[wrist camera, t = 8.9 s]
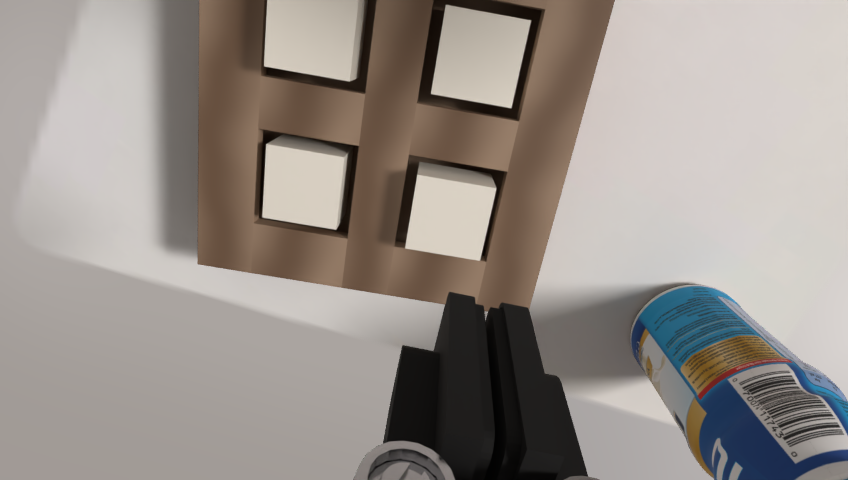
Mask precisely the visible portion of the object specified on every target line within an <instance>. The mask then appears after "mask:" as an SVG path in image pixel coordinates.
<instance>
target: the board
mask: <svg viewBox="0 0 848 480" xmlns="http://www.w3.org/2000/svg"><path fill="white" fill-rule="evenodd" d="M614 1H615V0H368V6H367V15H366V23H365V32H364V40H363V49H362V58H361V66H360V75H359V78H357V79H355V80H352V81H350V82H349V81H344V80H338V79H333V78H327V77H321V76H316V75H310V74H304V73H299V72H293V71H287V70H282V69H276V68H271V67H265V66H264V55H265V35H266V15H267V0H199V130H198V264H200V265H206V266H212V267H218V268H224V269H231V270H237V271H243V272H249V273H255V274H261V275H268V276H274V277H280V278H286V279H292V280H298V281H304V282H311V283H317V284H323V285H329V286H335V287H341V288H347V289H354V290H360V291H366V292H372V293H378V294H384V295H391V296H397V297H403V298H409V299H415V300H421V301H427V302H434V303H440V304H446V300H447V296H448V293H449V292H454V293H459V294H463V295H468V296H473V297H475V303H476V304H479V305H483V306H484V311H489V309H490V307H494V308H499V306H500V304H501V303H502V302H503V303H508V304H513V305H518V306H523V307H527V308H528V309H529V307H530V304H531V300H532V297H533V293H534V289H535V286H536V282H537V279H538V275H539V271H540V268H541V264H542V261H543V257H544V253H545V250H546V246H547V243H548V239H549V235H550V232H551V228H552V225H553V221H554V217H555V214H556V210H557V206H558V203H559V199H560V196H561V192H562V188H563V185H564V181H565V178H566V174H567V170H568V167H569V163H570V160H571V156H572V152H573V149H574V145H575V142H576V138H577V134H578V131H579V127H580V124H581V120H582V116H583V113H584V109H585V106H586V102H587V98H588V95H589V91H590V88H591V84H592V80H593V77H594V73H595V70H596V66H597V62H598V59H599V55H600V52H601V48H602V44H603V41H604V37H605V34H606V30H607V26H608V23H609V19H610V15H611V12H612V8H613V5H614ZM446 5H450V6H455V7H461V8H466V9H472V10H477V11H482V12H488V13H493V14H499V15H504V16H510V17H515V18H520V19H526V20H531V23H530V28H529V32H528V37H527V41H526V46H525V50H524V54H523V59H522V63H521V68H520V72H519V77H518V81H517V85H516V90H515V94H514V99H513V103H512V108H507V107H502V106H496V105H490V104H485V103H479V102H473V101H468V100H462V99H457V98H451V97H445V96H440V95H434V94H431V90H432V84H433V78H434V72H435V66H436V60H437V54H438V48H439V42H440V36H441V30H442V24H443V18H444V12H445V7H446ZM283 134H285V135H291V136H297V137H303V138H309V139H314V140H320V141H326V142H332V143H338V144H343V145H349V146H354V147H353V156H352V164H351V173H350V181H349V190H348V198H347V207H346V213H345V215H344V217H343V218H342V220H341V222H340V224H339V226H338V227H337V229H336V230H334V229H328V228H322V227H316V226H310V225H304V224H298V223H292V222H286V221H280V220H274V219H268V218H262V213H263V195H264V177H265V159H266V144H267V143H269V142H271V141H272V140H274V139H276V138H278V137H279V136H281V135H283ZM419 162H425V163H431V164H437V165H442V166H448V167H454V168H460V169H466V170H471V171H477V172H483V173H489V174H491V176H492V178H493V181H494V183H495V186H496V188H497V189H496V193H495V197H494V202H493V206H492V211H491V215H490V219H489V224H488V228H487V232H486V237H485V241H484V246H483V250H482V254H481V259H480V261H478V260H472V259H466V258H460V257H454V256H448V255H442V254H436V253H430V252H424V251H418V250H411V249H405V246H406V240H407V233H408V227H409V221H410V215H411V209H412V203H413V197H414V191H415V185H416V180H417V174H418V168H419Z"/></svg>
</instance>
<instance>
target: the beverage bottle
mask: <svg viewBox="0 0 848 480" xmlns="http://www.w3.org/2000/svg"><path fill="white" fill-rule="evenodd" d="M630 342H631V348H632V352H633V354H634V357H635V358H636V360H637V362H638V363H639V365H640V366H641V368H642V369H643V370H644V372H645V373H646V374H647V376H648V378H649V379H650V381H651V383H652V384H653V386H654V387H655V389H656V391H657V392H658V394H659V395H660V397H661V399H662V400H663V402H664V404H665V405H666V407H667V408H668V410H669V412H670V413H671V415H672V417H673V418H674V420H675V421H676V423H677V425H678V426H679V428H680V430H681V431H682V433H683V434H684V436H685V437H686V440H687V443H688V446H689V448H690V450H691V452H692V454H693V456H694V457H695V459H696V460H697V461H698V463H699V464H700V466H701V467H702V468H703V469H704V470H705V471H706V472H707V473H708V474H709V475H710V476H711V477H713V478H714V480H848V401H847V399H846V397H845V396H844V394H843V393H842V392H841V390H840V389H839V388H838V387H837V386H836V385H835V384H834V383H833V382H832V381H831V380H830V379H829V378H828V377H827V376H826V375H824V374H823V373H821V372H820V371H819V370H817V369H816V368H814V367H813V366H811V365H808V364H806V363H804V362H803V361H801V360H800V359H799V358H798V357H797V356H795V355H794V354H793V353H792V352H791V351H790V350H788V349H787V348H786V347H785V346H784V345H783V344H781V343H780V342H779V341H778V340H777V339H775V338H774V337H773V336H772V335H771V334H770V333H768V332H767V331H766V330H765V329H764V328H763V327H762V326H760V325H759V324H758V323H757V322H756V321H755V320H754V319H752V318H751V317H750V316H749V315H748V314H747V313H746V312H745V311H744V310H743V309H742V308H741V307H740V306H739V305H738V304H737V303H736V302H735V301H734V300H733V299H732V298H731V297H729V296H728V295H727V294H725V293H724V292H722V291H720V290H718V289H716V288H713V287H709V286H705V285H683V286H678V287H674V288H671V289H669V290H666V291H664V292H662V293H660V294H659V295H657V296H655V297H654V298H653V299H651V300H650V301H649V302H648V303H647V304H646V305H645V306H644V307H643V308H642V309H641V310H640V312H639V313H638V315H637V317H636V318H635V320H634V323H633V326H632V329H631V335H630Z"/></svg>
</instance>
